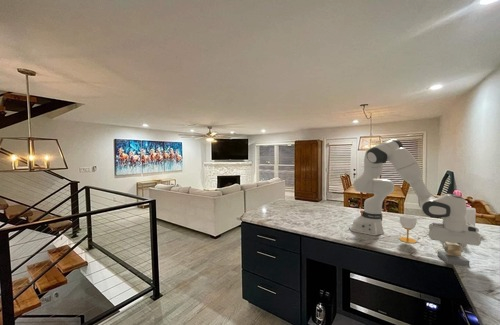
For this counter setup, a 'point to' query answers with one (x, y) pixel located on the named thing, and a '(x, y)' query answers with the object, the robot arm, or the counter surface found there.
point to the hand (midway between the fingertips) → (452, 250)
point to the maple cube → (453, 249)
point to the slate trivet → (453, 259)
